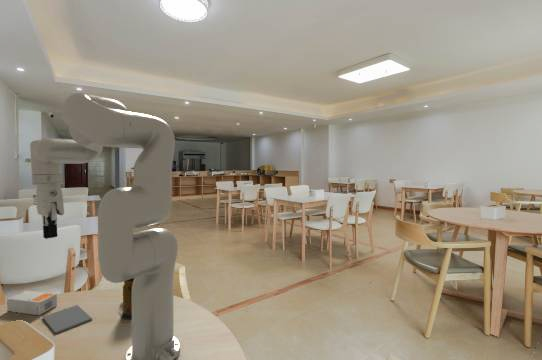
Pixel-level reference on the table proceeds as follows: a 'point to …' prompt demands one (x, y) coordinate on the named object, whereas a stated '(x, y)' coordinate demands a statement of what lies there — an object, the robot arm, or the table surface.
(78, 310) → the mat
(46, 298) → the skincare box
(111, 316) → the table surface
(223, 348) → the table surface
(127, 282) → the condiment
